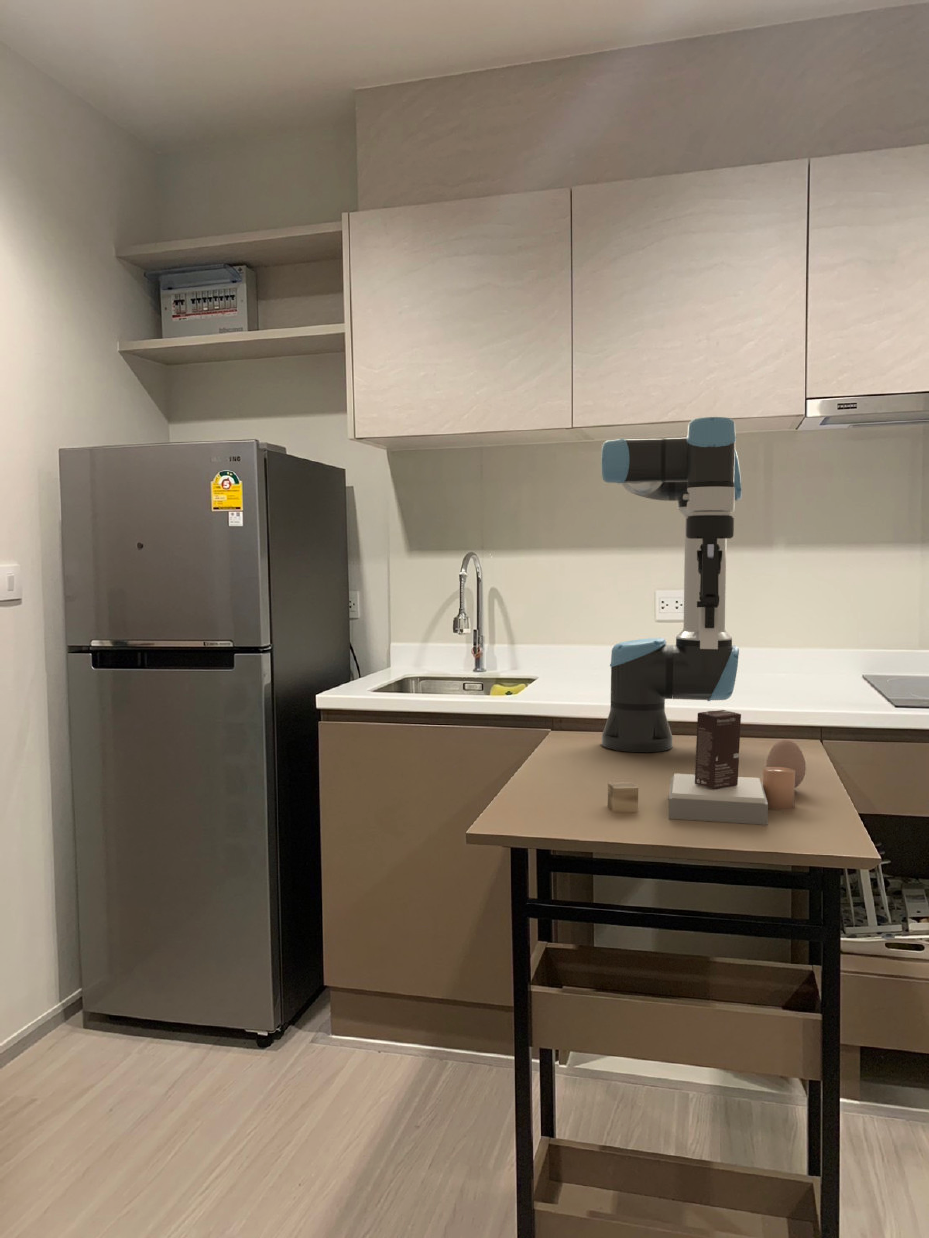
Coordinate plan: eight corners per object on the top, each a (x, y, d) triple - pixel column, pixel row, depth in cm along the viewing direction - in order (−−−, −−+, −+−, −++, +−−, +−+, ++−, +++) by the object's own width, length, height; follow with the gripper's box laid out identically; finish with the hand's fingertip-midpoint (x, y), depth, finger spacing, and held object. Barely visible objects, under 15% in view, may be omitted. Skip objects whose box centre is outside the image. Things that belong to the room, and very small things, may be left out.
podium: (671, 795, 167) (671, 772, 167) (761, 800, 163) (762, 777, 163) (668, 818, 152) (668, 793, 152) (767, 824, 149) (768, 799, 149)
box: (714, 790, 154) (715, 716, 153) (693, 785, 158) (695, 712, 157) (740, 786, 157) (742, 712, 156) (720, 780, 161) (721, 709, 160)
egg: (764, 793, 169) (765, 741, 168) (767, 784, 175) (768, 734, 174) (804, 796, 166) (805, 744, 166) (805, 787, 172) (806, 737, 172)
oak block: (607, 806, 160) (607, 782, 160) (631, 805, 161) (631, 781, 160) (613, 812, 156) (614, 788, 156) (637, 811, 157) (638, 787, 156)
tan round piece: (761, 801, 163) (762, 766, 163) (792, 802, 162) (793, 767, 162) (763, 808, 159) (764, 772, 158) (795, 810, 157) (796, 774, 157)
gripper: (686, 516, 170) (684, 636, 171) (686, 512, 145) (684, 652, 147) (730, 516, 168) (728, 637, 170) (738, 512, 144) (735, 653, 146)
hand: (707, 644), depth 158 cm, fingers open, 13 cm apart
